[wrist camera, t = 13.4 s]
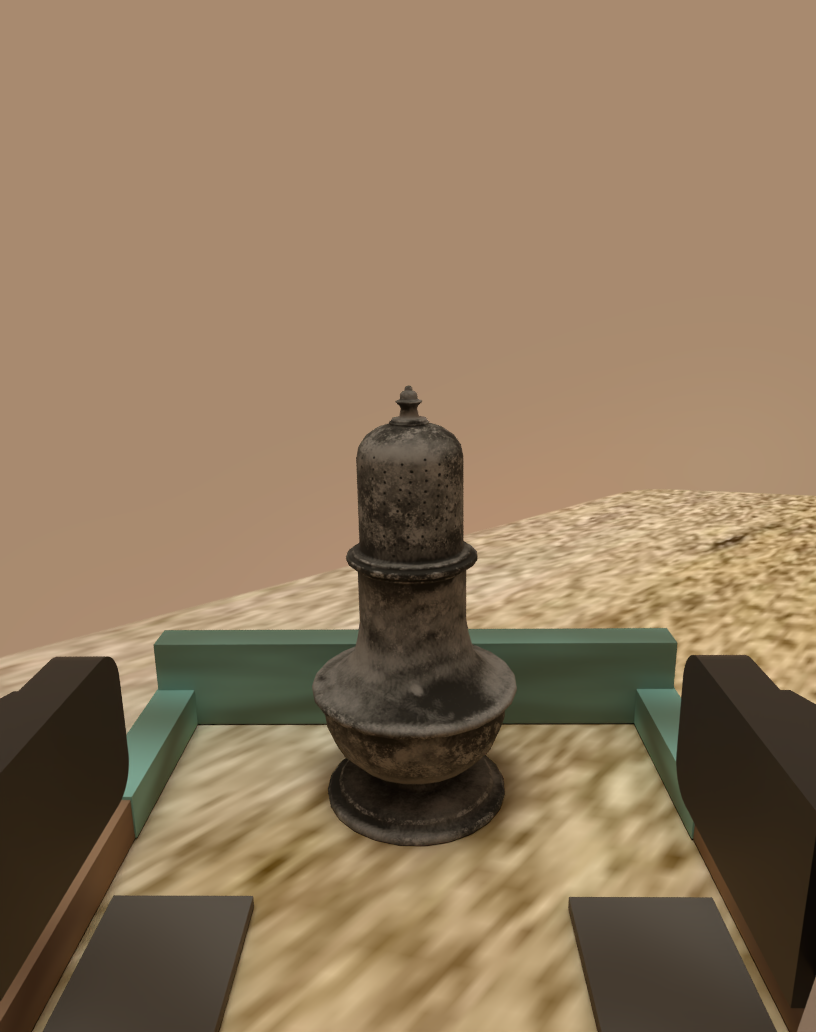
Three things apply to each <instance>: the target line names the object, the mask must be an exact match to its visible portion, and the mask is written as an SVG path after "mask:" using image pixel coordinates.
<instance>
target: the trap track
mask: <svg viewBox="0 0 816 1032" xmlns="http://www.w3.org/2000/svg"><path fill="white" fill-rule="evenodd" d="M358 632H359V630H165V631H164V632H163V633H162V635H161V636H160V637H159V639H158V640H157V641H156V642H155V644H154V653H155V663H156V672H157V681H158V690H157V691H156V693H155V694H154V695H153V697H152V698H151V700H150V701H149V703H148V704H147V706H146V707H145V709H144V710H143V712H142V713H141V714H140V716H139V717H138V719H137V720H136V722H135V723H134V725H133V726H132V728H131V729H130V731H129V732H128V733H127V735H126V736H127V744H128V753H129V772H128V780H127V785H126V789H125V792H124V795H123V798H122V800H121V802H120V804H119V806H118V807H117V809H116V811H115V812H114V814H113V816H112V817H111V819H110V821H109V822H108V824H107V826H106V827H105V829H104V831H103V832H102V834H101V836H100V837H99V839H98V841H97V842H96V844H95V846H94V847H93V849H92V851H91V852H90V854H89V856H88V857H87V859H86V861H85V862H84V864H83V866H82V867H81V869H80V871H79V872H78V874H77V876H76V877H75V879H74V880H73V882H72V884H71V885H70V887H69V889H68V890H67V892H66V894H65V895H64V897H63V899H62V900H61V902H60V904H59V905H58V907H57V909H56V910H55V912H54V914H53V915H52V917H51V919H50V920H49V922H48V924H47V925H46V927H45V929H44V930H43V932H42V934H41V935H40V937H39V939H38V940H37V942H36V944H35V945H34V947H33V949H32V950H31V952H30V954H29V955H28V957H27V959H26V960H25V962H24V964H23V965H22V967H21V969H20V970H19V972H18V974H17V975H16V977H15V979H14V980H13V982H12V984H11V985H10V987H9V989H8V990H7V992H6V994H5V995H4V997H3V999H2V1000H1V1001H0V1032H31V1031H32V1029H33V1027H34V1025H35V1024H36V1022H37V1020H38V1018H39V1016H40V1014H41V1012H42V1010H43V1009H44V1007H45V1005H46V1003H47V1001H48V999H49V997H50V996H51V994H52V992H53V990H54V988H55V986H56V984H57V983H58V981H59V979H60V977H61V975H62V973H63V971H64V970H65V968H66V966H67V964H68V962H69V960H70V958H71V956H72V955H73V953H74V951H75V949H76V947H77V945H78V943H79V942H80V940H81V938H82V936H83V934H84V932H85V930H86V929H87V927H88V925H89V923H90V921H91V919H92V917H93V916H94V914H95V912H96V910H97V908H98V906H99V904H100V902H101V901H102V899H103V897H104V895H105V893H106V891H107V889H108V888H109V886H110V884H111V882H112V880H113V878H114V876H115V875H116V873H117V871H118V869H119V867H120V865H121V863H122V861H123V860H124V858H125V856H126V854H127V852H128V850H129V848H130V847H131V845H132V843H133V841H134V839H135V838H137V837H138V835H139V833H140V831H141V829H142V828H143V826H144V824H145V822H146V820H147V818H148V816H149V814H150V813H151V811H152V809H153V807H154V805H155V803H156V801H157V799H158V798H159V796H160V794H161V792H162V790H163V788H164V786H165V784H166V783H167V781H168V779H169V777H170V775H171V773H172V771H173V769H174V768H175V766H176V764H177V762H178V760H179V758H180V756H181V754H182V753H183V751H184V749H185V747H186V745H187V743H188V741H189V739H190V738H191V736H192V734H193V732H194V730H195V728H196V726H197V724H327V722H326V718H325V714H324V713H323V712H322V710H321V709H320V708H319V707H318V705H317V704H316V703H315V701H314V696H313V690H312V684H313V682H314V679H315V676H316V673H317V672H318V671H319V670H320V669H321V668H322V667H323V666H324V665H325V664H326V663H327V661H328V660H330V659H332V658H333V657H335V656H336V655H338V654H340V653H341V652H343V651H345V650H348V649H350V648H353V647H355V646H356V642H357V638H358ZM468 632H469V635H470V639H471V642H472V644H473V645H476V646H478V647H480V648H483V649H485V650H488V651H490V652H492V653H493V654H495V655H496V656H497V657H499V658H500V659H502V660H503V661H504V662H505V663H506V664H507V665H508V666H509V668H510V669H511V671H512V672H513V673H514V675H515V680H516V686H517V691H516V694H515V696H514V699H513V701H512V704H511V705H510V706H509V707H508V708H507V709H506V710H505V718H504V720H503V723H634V724H635V726H636V728H637V730H638V732H639V734H640V736H641V738H642V740H643V742H644V744H645V746H646V749H647V751H648V753H649V755H650V757H651V759H652V761H653V763H654V765H655V767H656V769H657V771H658V773H659V775H660V777H661V779H662V781H663V783H664V785H665V787H666V789H667V791H668V793H669V795H670V797H671V799H672V801H673V803H674V805H675V807H676V809H677V811H678V813H679V815H680V817H681V819H682V821H683V823H684V825H685V827H686V829H687V831H688V833H689V835H690V837H691V839H694V841H695V843H696V845H697V847H698V849H699V851H700V853H701V855H702V857H703V859H704V861H705V863H706V865H707V867H708V869H709V871H710V873H711V875H712V877H713V879H714V881H715V883H716V885H717V887H718V889H719V891H720V893H721V895H722V897H723V899H724V901H725V903H726V905H727V907H728V909H729V911H730V913H731V915H732V917H733V919H734V921H735V923H736V925H737V927H738V929H739V931H740V933H741V935H742V937H743V939H744V941H745V943H746V945H747V947H748V949H749V951H750V953H751V955H752V957H753V959H754V961H755V963H756V965H757V967H758V969H759V971H760V973H761V975H762V977H763V979H764V981H765V983H766V985H767V987H768V989H769V991H770V993H771V995H772V997H773V999H774V1001H775V1003H776V1005H777V1007H778V1009H779V1011H780V1013H781V1015H782V1017H783V1019H784V1021H785V1023H786V1025H787V1027H788V1029H789V1031H790V1032H797V1030H798V1027H799V1024H800V1022H801V1019H802V1016H803V1013H804V1010H805V1008H790V1006H789V1004H788V1002H787V1000H786V998H785V997H784V995H783V993H782V991H781V989H780V987H779V985H778V983H777V981H776V979H775V977H774V975H773V973H772V972H771V970H770V968H769V966H768V964H767V962H766V960H765V958H764V956H763V954H762V952H761V950H760V948H759V947H758V945H757V943H756V941H755V939H754V937H753V935H752V933H751V931H750V929H749V927H748V925H747V924H746V922H745V920H744V918H743V916H742V914H741V912H740V910H739V908H738V906H737V904H736V902H735V900H734V899H733V897H732V895H731V893H730V891H729V889H728V887H727V885H726V883H725V881H724V879H723V877H722V876H721V874H720V872H719V870H718V868H717V866H716V864H715V862H714V860H713V858H712V856H711V854H710V852H709V851H708V849H707V847H706V845H705V843H704V841H703V839H702V837H701V835H700V833H699V831H698V829H697V827H696V826H695V824H694V822H693V820H692V818H691V816H690V814H689V812H688V810H687V808H686V806H685V804H684V802H683V800H682V797H681V793H680V790H679V785H678V779H677V770H676V753H677V741H678V730H679V719H680V707H681V698H680V696H679V694H678V693H677V691H676V690H675V688H674V677H675V665H676V653H677V642H676V640H675V639H674V638H673V636H672V635H671V633H670V632H669V631H668V629H667V628H607V629H468ZM253 908H254V902H253V896H113V898H112V900H111V901H110V903H109V905H108V907H107V909H106V911H105V913H104V915H103V917H102V919H101V921H100V923H99V925H98V926H97V928H96V930H95V932H94V934H93V936H92V938H91V940H90V942H89V944H88V946H87V948H86V949H85V951H84V953H83V955H82V957H81V959H80V961H79V963H78V965H77V967H76V969H75V971H74V972H73V974H72V976H71V978H70V980H69V982H68V984H67V986H66V988H65V990H64V992H63V994H62V996H61V997H60V999H59V1001H58V1003H57V1005H56V1007H55V1009H54V1011H53V1013H52V1015H51V1017H50V1019H49V1020H48V1022H47V1024H46V1026H45V1028H44V1030H43V1032H219V1029H220V1025H221V1022H222V1018H223V1015H224V1011H225V1008H226V1004H227V1000H228V997H229V993H230V990H231V986H232V983H233V979H234V975H235V972H236V968H237V965H238V961H239V958H240V954H241V951H242V947H243V943H244V940H245V936H246V933H247V929H248V926H249V922H250V918H251V915H252V911H253ZM568 908H569V912H570V916H571V920H572V925H573V929H574V933H575V937H576V941H577V946H578V950H579V954H580V958H581V962H582V967H583V971H584V975H585V979H586V983H587V988H588V992H589V996H590V1000H591V1004H592V1009H593V1013H594V1017H595V1021H596V1025H597V1030H598V1032H777V1031H776V1029H775V1027H774V1025H773V1023H772V1021H771V1019H770V1016H769V1014H768V1012H767V1010H766V1008H765V1006H764V1004H763V1002H762V1000H761V998H760V996H759V994H758V992H757V990H756V987H755V985H754V983H753V981H752V979H751V977H750V975H749V973H748V971H747V969H746V967H745V965H744V963H743V960H742V958H741V956H740V954H739V952H738V950H737V948H736V946H735V944H734V942H733V940H732V938H731V936H730V934H729V931H728V929H727V927H726V925H725V923H724V921H723V919H722V917H721V915H720V913H719V911H718V909H717V907H716V905H715V902H714V900H713V898H692V897H569V906H568Z"/></svg>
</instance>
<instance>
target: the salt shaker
mask: <svg viewBox="0 0 816 1032" xmlns="http://www.w3.org/2000/svg"><path fill="white" fill-rule="evenodd" d="M421 402H422V400H419V399H417V393H416V392H415V391H412V387H411V386H406V387H405V391H403V392H402V393H401V394H400V400H397V401H396V403H397V404H398V405H399V406H400V408H401V411H400V416H398V417H394V418H392V420H391V421H390V422H389V424H386V425H383V426H379V427H377V428H375V429H374V430H373V431H371V432H370V433H368V434H367V435H366V436H365V438H364V439H363V441H362V442H361V444H360V445H359V447H358V452H357V457H356V463H357V488H358V514H359V539H360V542H359V543H358V544H357V545H355V546H354V547H353V548H351V549H350V550H349V551H348V553H347V556H346V560H347V562H348V564H349V566H350V567H352V568H353V569H355V570H356V571H358V586H359V611H360V625H359V632H358V638H357V642H356V646H355V647H353V648H350V649H348V650H345V651H343V652H341V653H340V654H338V655H336V656H335V657H333V658H332V659H330V660H328V661H327V663H326V664H325V665H324V666H323V667H322V668H321V669H320V670H319V671H318V672H317V673H316V676H315V679H314V682H313V684H312V690H313V696H314V701H315V703H316V704H317V705H318V707H319V708H320V709H321V710H322V712H323V713H324V714H325V718H326V722H327V727H328V729H329V731H330V733H331V735H332V737H333V738H334V740H335V742H336V744H337V746H338V748H339V749H340V750H341V752H342V753H343V754H344V756H345V757H346V759H344V760H343V761H342V762H341V763H340V764H339V765H338V767H337V768H336V770H335V771H334V772H333V774H332V775H331V779H330V783H329V787H328V794H329V799H330V804H331V807H332V809H333V810H334V812H335V813H336V815H337V816H338V818H339V819H340V820H341V821H342V822H343V823H345V824H346V825H347V826H348V827H350V828H351V829H352V830H354V831H355V832H357V833H359V834H362V835H364V836H366V837H369V838H371V839H373V840H376V841H381V842H386V843H391V844H396V845H414V846H426V845H432V844H439V843H445V842H450V841H453V840H456V839H459V838H461V837H464V836H467V835H469V834H472V833H473V832H475V831H476V830H478V829H480V828H481V827H483V826H484V825H486V824H487V823H489V821H490V820H491V819H492V818H493V817H494V816H495V814H496V813H497V812H498V811H499V810H500V807H501V804H502V801H503V798H504V795H505V791H504V781H503V777H502V775H501V773H500V771H499V769H498V768H497V766H496V764H494V763H493V762H492V761H491V760H490V759H489V758H488V757H487V756H486V755H485V754H486V753H487V752H488V751H489V750H490V749H491V747H492V745H493V742H494V740H495V738H496V736H497V734H498V732H499V730H500V728H501V725H502V723H503V720H504V718H505V710H506V709H507V708H508V707H509V706H510V705H511V704H512V701H513V699H514V696H515V694H516V691H517V686H516V680H515V675H514V673H513V672H512V671H511V669H510V668H509V666H508V665H507V664H506V663H505V662H504V661H503V660H502V659H500V658H499V657H497V656H496V655H495V654H493V653H492V652H490V651H488V650H485V649H483V648H480V647H478V646H476V645H473V644H472V642H471V639H470V635H469V632H468V626H467V621H466V570H467V569H469V568H470V567H472V566H473V565H474V564H475V562H476V561H477V551H476V550H475V549H474V548H473V547H472V546H471V545H469V544H467V543H466V542H465V541H463V453H462V448H461V444H460V443H459V441H458V440H457V439H456V437H455V436H454V434H452V433H451V432H449V431H448V430H446V429H445V428H443V427H442V426H439V425H435V424H432V423H429V421H428V420H427V418H426V417H422V416H419V415H418V411H417V407H418V405H419V404H420V403H421Z"/></svg>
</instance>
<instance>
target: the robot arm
mask: <svg viewBox="0 0 816 1032" xmlns="http://www.w3.org/2000/svg"><path fill="white" fill-rule="evenodd" d="M676 770H677V779H678V785H679V790H680V793H681V797H682V800H683V802H684V804H685V806H686V808H687V810H688V812H689V814H690V816H691V818H692V820H693V822H694V824H695V826H696V827H697V829H698V831H699V833H700V835H701V837H702V839H703V841H704V843H705V845H706V847H707V849H708V851H709V852H710V854H711V856H712V858H713V860H714V862H715V864H716V866H717V868H718V870H719V872H720V874H721V876H722V877H723V879H724V881H725V883H726V885H727V887H728V889H729V891H730V893H731V895H732V897H733V899H734V900H735V902H736V904H737V906H738V908H739V910H740V912H741V914H742V916H743V918H744V920H745V922H746V924H747V925H748V927H749V929H750V931H751V933H752V935H753V937H754V939H755V941H756V943H757V945H758V947H759V948H760V950H761V952H762V954H763V956H764V958H765V960H766V962H767V964H768V966H769V968H770V970H771V972H772V973H773V975H774V977H775V979H776V981H777V983H778V985H779V987H780V989H781V991H782V993H783V995H784V997H785V998H786V1000H787V1002H788V1004H789V1006H790V1008H805V1010H804V1013H803V1016H802V1019H801V1022H800V1024H799V1027H798V1030H797V1032H816V704H814V703H812V702H811V701H809V700H807V699H805V698H803V697H802V696H800V695H798V694H796V693H794V692H793V691H791V690H780V689H779V688H778V687H777V686H776V685H775V684H774V683H773V682H772V680H771V679H770V678H769V677H768V676H767V675H766V674H765V673H764V672H763V671H762V670H761V669H760V667H759V666H758V665H757V664H756V663H755V662H754V661H753V660H752V659H751V658H750V657H749V656H747V655H691V656H690V657H689V658H688V659H687V661H686V664H685V668H684V674H683V685H682V696H681V707H680V719H679V730H678V741H677V753H676ZM128 772H129V753H128V744H127V736H126V728H125V720H124V711H123V703H122V695H121V687H120V679H119V672H118V668H117V665H116V663H115V661H114V660H113V659H112V658H111V657H55V658H53V659H51V660H50V661H49V662H48V663H47V664H46V665H45V666H44V667H43V668H42V669H41V670H40V671H39V672H38V673H37V674H36V675H35V676H34V677H33V678H32V679H30V680H29V681H28V682H27V683H26V684H25V685H24V686H23V687H22V688H21V689H20V690H19V691H13V692H12V693H10V694H8V695H6V696H4V697H2V698H0V1001H1V1000H2V999H3V997H4V995H5V994H6V992H7V990H8V989H9V987H10V985H11V984H12V982H13V980H14V979H15V977H16V975H17V974H18V972H19V970H20V969H21V967H22V965H23V964H24V962H25V960H26V959H27V957H28V955H29V954H30V952H31V950H32V949H33V947H34V945H35V944H36V942H37V940H38V939H39V937H40V935H41V934H42V932H43V930H44V929H45V927H46V925H47V924H48V922H49V920H50V919H51V917H52V915H53V914H54V912H55V910H56V909H57V907H58V905H59V904H60V902H61V900H62V899H63V897H64V895H65V894H66V892H67V890H68V889H69V887H70V885H71V884H72V882H73V880H74V879H75V877H76V876H77V874H78V872H79V871H80V869H81V867H82V866H83V864H84V862H85V861H86V859H87V857H88V856H89V854H90V852H91V851H92V849H93V847H94V846H95V844H96V842H97V841H98V839H99V837H100V836H101V834H102V832H103V831H104V829H105V827H106V826H107V824H108V822H109V821H110V819H111V817H112V816H113V814H114V812H115V811H116V809H117V807H118V806H119V804H120V802H121V800H122V798H123V795H124V792H125V789H126V785H127V780H128Z"/></svg>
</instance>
